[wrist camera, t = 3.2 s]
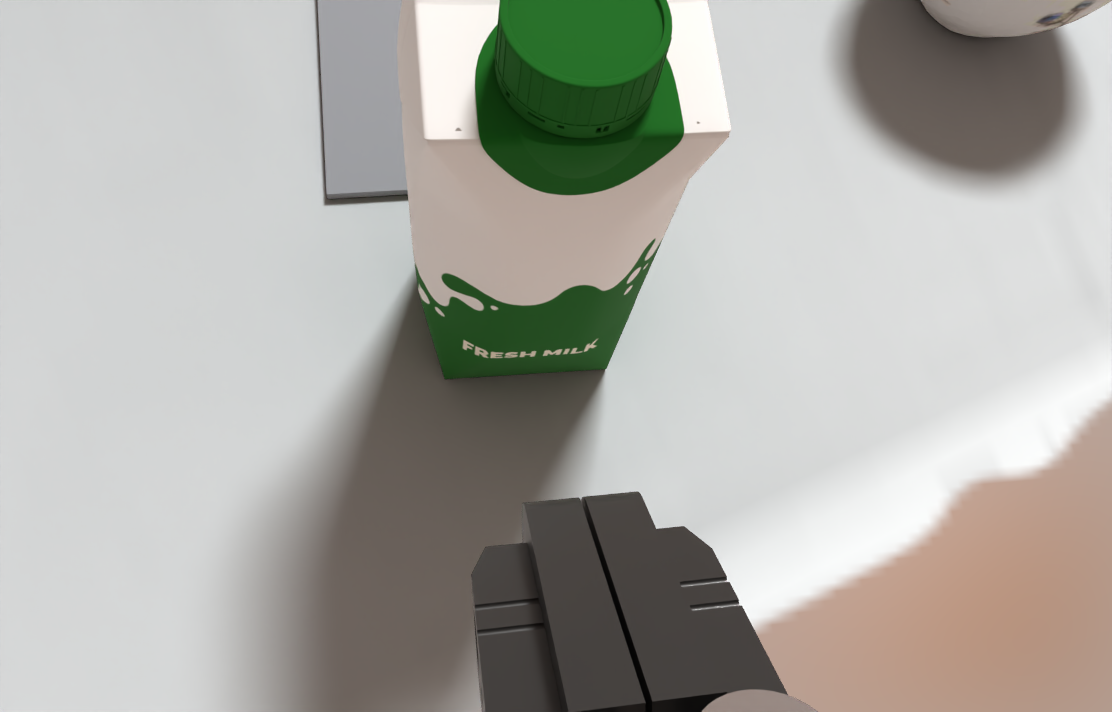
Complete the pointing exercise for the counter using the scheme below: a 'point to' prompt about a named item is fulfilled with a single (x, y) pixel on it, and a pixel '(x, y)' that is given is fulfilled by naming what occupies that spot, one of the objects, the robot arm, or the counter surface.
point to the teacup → (1008, 15)
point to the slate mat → (361, 98)
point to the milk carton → (548, 167)
